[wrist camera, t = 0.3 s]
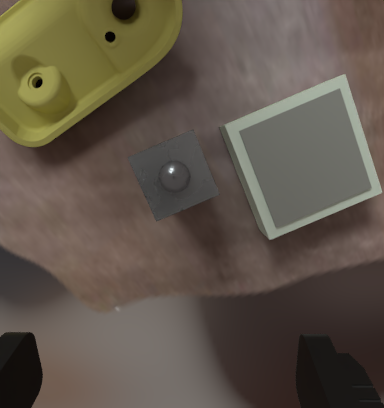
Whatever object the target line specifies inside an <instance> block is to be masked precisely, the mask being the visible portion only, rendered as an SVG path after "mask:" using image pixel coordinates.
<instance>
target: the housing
mask: <svg viewBox="0 0 384 408" xmlns="http://www.w3.org/2000/svg"><path fill="white" fill-rule="evenodd" d="M128 160H129V162H130V164H131V166H132V168H133V171H134V173H135V175H136V177H137V180H138V182H139V184H140V186H141V188H142V191H143V193H144V195H145V197H146V200H147V202H148V204H149V206H150V208H151V211H152V213H153V215H154V217H155V220H156V221H159V220H161V219H163V218H166V217H168V216H170V215H173V214H175V213H177V212H180V211H182V210H185V209H187V208H189V207H192V206H194V205H196V204H199V203H201V202H203V201H206V200H208V199H210V198H213V197H215V196H218V195H220V194H219V191H218V189H217V186H216V184H215V182H214V179H213V177H212V174H211V172H210V169H209V167H208V164H207V162H206V159H205V157H204V155H203V152H202V150H201V147H200V145H199V142H198V140H197V137H196V135H195V133H194V130H191V131H188V132H186V133H184V134H181V135H179V136H177V137H174V138H172V139H170V140H167V141H165V142H163V143H160V144H158V145H156V146H153V147H151V148H149V149H146V150H144V151H142V152H139V153H137V154H135V155H132V156H130V157H128Z"/></svg>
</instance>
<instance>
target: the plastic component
mask: <svg viewBox="0 0 384 408" xmlns="http://www.w3.org/2000/svg"><path fill="white" fill-rule="evenodd" d="M112 1H113V0H20V1H19V2H17V3H16V4H15V5H14V6H12V7H11V8H10V9H9V10H7V11H6V12H5V13H4V14H2V15H1V16H0V130H1V131H3V132H4V133H5V134H6V135H7V136H8V137H9V138H10V139H11V140H13V141H14V142H16V143H18V144H21V145H23V146H28V147H39V146H43V145H45V144H48V143H49V142H51V141H52V140H53V139H55V138H56V137H58V136H59V135H60V134H62V133H63V132H65V131H66V130H67V129H69V128H70V127H71V126H73V125H74V124H76V123H77V122H78V121H80V120H81V119H82V118H84V117H85V116H87V115H88V114H89V113H91V112H92V111H94V110H95V109H96V108H98V107H99V106H100V105H102V104H103V103H105V102H106V101H107V100H109V99H110V98H112V97H113V96H114V95H116V94H117V93H118V92H120V91H121V90H123V89H124V88H125V87H127V86H128V85H130V84H131V83H132V82H134V81H135V80H136V79H138V78H139V77H140V76H142V75H143V74H144V73H146V72H147V71H148V70H150V69H151V68H152V67H153V66H154V65H156V64H157V63H158V62H159V61H160V60H161V59H162V58H163V57H164V56H165V55H166V54H167V53H168V52H169V50H170V49H171V48H172V46H173V45H174V43H175V41H176V39H177V37H178V35H179V32H180V28H181V23H182V0H135V5H136V8H135V12H134V14H133V16H132V17H130V18H129V19H126V20H121V19H119V18H117V17H115V16H114V15H113V13H112ZM108 31H112V32H113V33H114V34H115V39H114V41H112V42H109V41H107V40H106V39H105V34H106V33H107V32H108ZM39 79H43V84H42V85H41V87H39V88H36V86H35V85H36V82H37V81H38V80H39Z"/></svg>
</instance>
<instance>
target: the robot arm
mask: <svg viewBox="0 0 384 408" xmlns="http://www.w3.org/2000/svg"><path fill="white" fill-rule="evenodd" d="M42 375H43V374H42V367H41V362H40V358H39V354H38V349H37V345H36V340H35V336H34V335H33V334H32V333H30V332H29V333H28V332H26V333H25V332H22V333H21V332H8V333H4V334H3V335H2V336H1V337H0V408H31V407H32V405H33V403H34V402H35V399H36V397H37V396H38V394H39V391H40V388H41V385H42V378H43V376H42ZM296 389H297V394H298V399H299V402H300V406H301V408H384V405H383V403H381V400H380V397H379V395H378V393H377V392H376V390H375V388H373V384H372V382H371V380H370V379H369V377H368V375H367V373H366V371H365V369H364V368H363V367H362V366H361V365H360V364H359V363H358V362H357V361H356V360H355V359H354V358H353V357H352V356H351V355H349V354H347V353H337V352H336V350H335V348H334V346H333V344H332V342H331V340H330V338H329V336H328V335H326V334H301V335H300V337H299V344H298V355H297V366H296Z"/></svg>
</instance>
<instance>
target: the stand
mask: <svg viewBox="0 0 384 408" xmlns="http://www.w3.org/2000/svg"><path fill="white" fill-rule="evenodd" d="M219 128H220V131H221V133H222V136H223V139H224V141H225V144H226V146H227V149H228V151H229V154H230V156H231V159H232V161H233V164H234V167H235V169H236V172H237V174H238V177H239V179H240V182H241V184H242V187H243V189H244V192H245V194H246V197H247V200H248V202H249V205H250V207H251V210H252V212H253V215H254V217H255V220H256V222H257V225H258V227H259V230H260V231H261V232H262V233H263V234H264V235H265V236H266V237H267V238H268V239H269V240H271V239H274V238H276V237H278V236H281V235H283V234H286V233H288V232H290V231H293V230H295V229H297V228H300V227H302V226H305V225H307V224H309V223H312V222H314V221H316V220H319V219H321V218H324V217H326V216H328V215H331V214H333V213H335V212H338V211H340V210H342V209H345V208H347V207H350V206H352V205H354V204H357V203H359V202H361V201H364V200H366V199H369V198H371V197H373V196H376V195H378V194H380V193H382V190H381V186H380V183H379V180H378V177H377V174H376V171H375V167H374V164H373V161H372V158H371V155H370V152H369V148H368V145H367V142H366V139H365V136H364V132H363V129H362V126H361V123H360V120H359V117H358V113H357V110H356V107H355V104H354V101H353V98H352V94H351V91H350V88H349V85H348V82H347V79H346V75H345V74H344V75H341V76H339V77H336V78H333V79H331V80H328V81H326V82H324V83H321V84H319V85H316V86H314V87H312V88H309V89H307V90H305V91H302V92H300V93H298V94H295V95H293V96H291V97H288V98H286V99H284V100H281V101H279V102H277V103H274V104H272V105H270V106H267V107H265V108H262V109H260V110H258V111H255V112H253V113H251V114H248V115H246V116H244V117H241V118H239V119H237V120H234V121H232V122H230V123H227V124H225V125H223V126H220V127H219Z"/></svg>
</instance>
